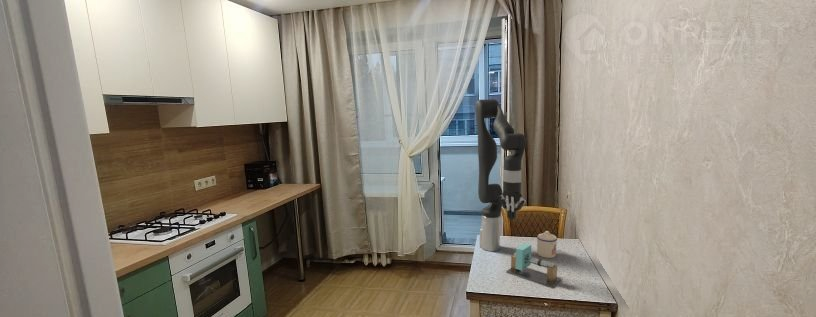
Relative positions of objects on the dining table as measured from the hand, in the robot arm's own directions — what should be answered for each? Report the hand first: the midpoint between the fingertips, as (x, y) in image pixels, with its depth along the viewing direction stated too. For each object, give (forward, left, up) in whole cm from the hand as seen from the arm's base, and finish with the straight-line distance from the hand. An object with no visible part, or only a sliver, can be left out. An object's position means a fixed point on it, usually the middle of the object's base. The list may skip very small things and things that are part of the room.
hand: (511, 219), depth 157 cm
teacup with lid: (+5, +27, -23) cm, 36 cm away
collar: (+6, 0, -20) cm, 21 cm away
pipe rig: (+11, 0, -23) cm, 25 cm away
